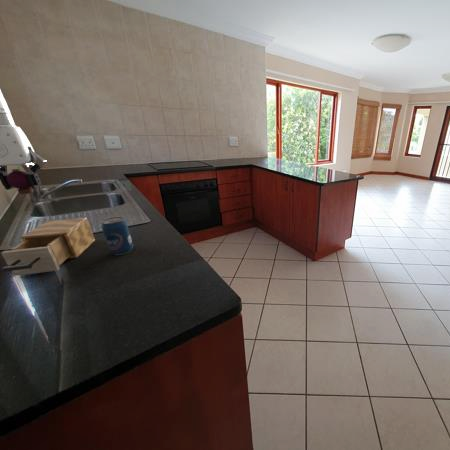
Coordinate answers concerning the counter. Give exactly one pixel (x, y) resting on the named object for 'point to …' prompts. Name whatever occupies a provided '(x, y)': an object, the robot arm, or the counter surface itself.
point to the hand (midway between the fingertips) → (24, 187)
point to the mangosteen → (19, 181)
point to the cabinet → (66, 233)
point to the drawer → (37, 255)
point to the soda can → (117, 235)
